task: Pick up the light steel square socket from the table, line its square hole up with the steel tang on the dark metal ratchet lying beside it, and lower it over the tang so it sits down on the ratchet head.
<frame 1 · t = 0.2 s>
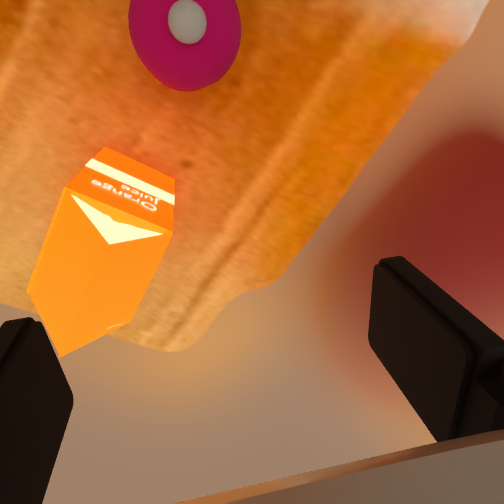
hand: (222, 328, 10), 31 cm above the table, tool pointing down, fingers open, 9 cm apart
orange juice: (126, 198, 39), on the table
pepper mill: (183, 46, 34), on the table
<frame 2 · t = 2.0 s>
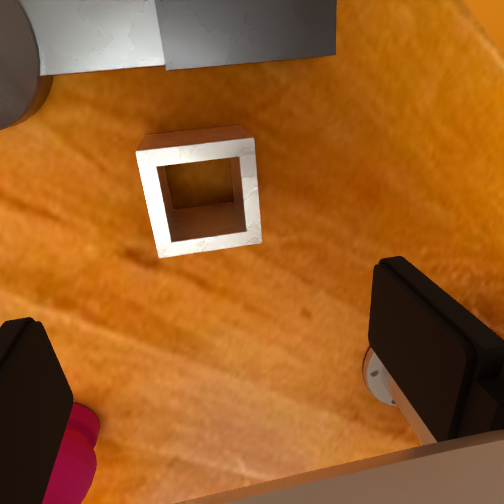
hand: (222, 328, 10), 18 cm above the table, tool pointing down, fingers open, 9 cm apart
pepper mill: (65, 423, 35), on the table
socket: (199, 175, 26), on the table
ratchet: (111, 36, 22), on the table
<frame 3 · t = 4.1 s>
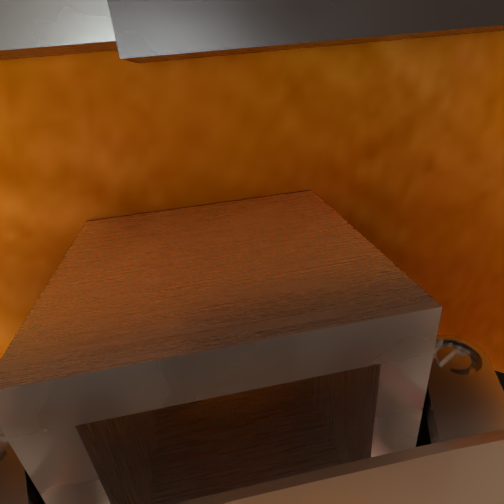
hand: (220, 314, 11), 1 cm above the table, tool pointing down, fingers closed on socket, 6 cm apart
socket: (217, 298, 12), on the table, touching gripper
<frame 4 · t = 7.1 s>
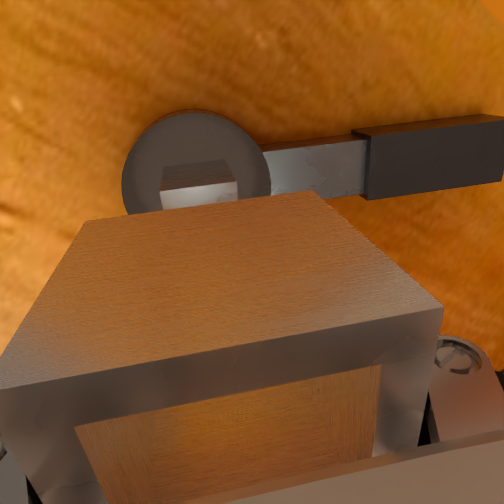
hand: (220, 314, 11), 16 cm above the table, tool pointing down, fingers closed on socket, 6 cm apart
socket: (217, 298, 12), point 15 cm above the table, touching gripper
ratchet: (309, 165, 26), on the table
when the fingers open (5 cm above the table, at t = 10.4 s): socket stays where it is, resting on ratchet.
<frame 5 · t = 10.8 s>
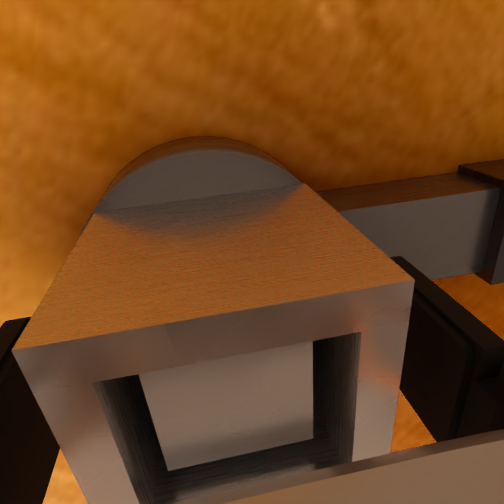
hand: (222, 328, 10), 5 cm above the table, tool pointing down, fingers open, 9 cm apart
socket: (217, 286, 12), point 3 cm above the table, touching ratchet
ratchet: (388, 220, 16), on the table, touching socket
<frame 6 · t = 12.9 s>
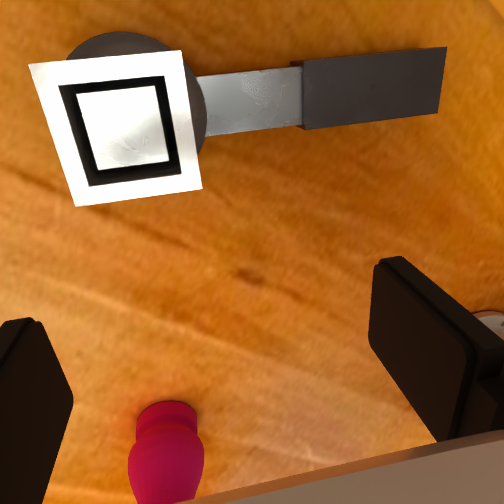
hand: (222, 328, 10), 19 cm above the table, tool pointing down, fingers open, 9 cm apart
pepper mill: (167, 419, 39), on the table
socket: (135, 117, 22), point 3 cm above the table, touching ratchet
ratchet: (251, 98, 26), on the table, touching socket
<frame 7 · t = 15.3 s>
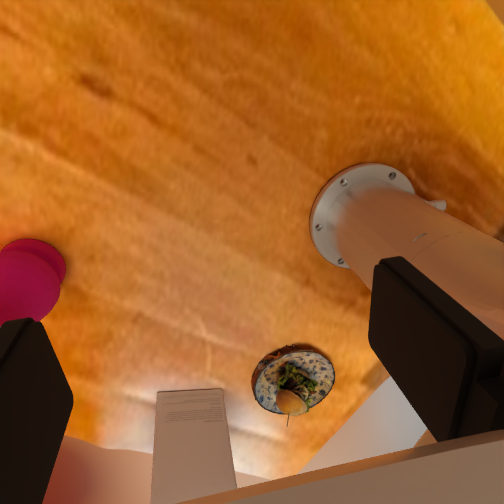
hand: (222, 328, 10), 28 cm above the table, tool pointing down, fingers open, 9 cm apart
burger: (291, 373, 52), on the table
pepper mill: (34, 264, 38), on the table
supplement box: (189, 411, 51), on the table
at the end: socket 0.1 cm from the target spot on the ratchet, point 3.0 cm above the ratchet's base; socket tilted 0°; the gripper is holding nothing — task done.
